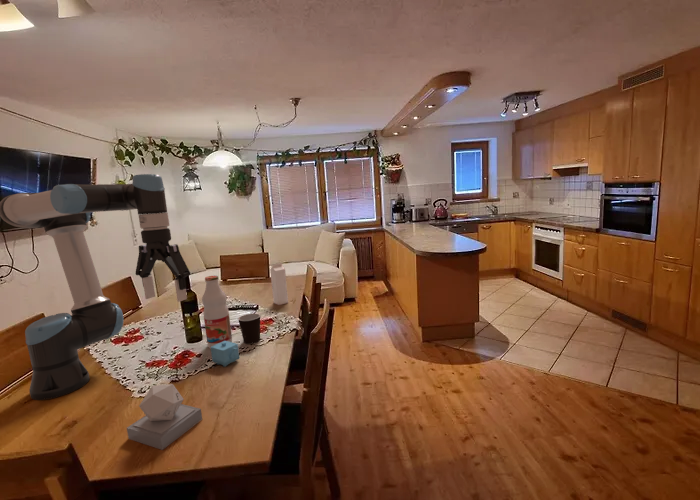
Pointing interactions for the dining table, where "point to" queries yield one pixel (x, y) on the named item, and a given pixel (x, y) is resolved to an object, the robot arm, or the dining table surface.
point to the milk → (279, 284)
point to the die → (161, 402)
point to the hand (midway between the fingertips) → (166, 299)
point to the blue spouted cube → (225, 353)
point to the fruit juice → (215, 313)
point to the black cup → (250, 328)
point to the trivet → (164, 427)
